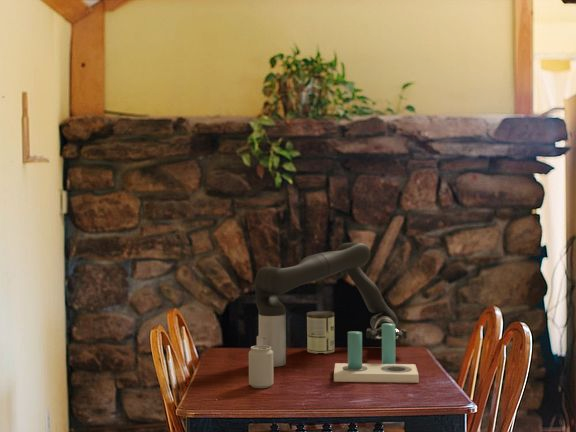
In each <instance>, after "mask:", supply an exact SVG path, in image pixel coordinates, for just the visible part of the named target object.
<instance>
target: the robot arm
mask: <svg viewBox="0 0 576 432" xmlns="http://www.w3.org/2000/svg"><path fill="white" fill-rule="evenodd" d="M371 253H372V252H371V250H370V248H369V246H368V245H367V244H365V243H363V242H358V241H357V242H344V243H341V244H340V245H339V247H338V249H337V250H334V251H332V250H331V251H324V252H318V253H315V254H311V255H307V256H306V257H304V258H303V259H301V261H300V262H299V263H298V264H296V265H292V266H288V267H275V266H263V267H260V268H259V269H258V270H257V273H256V274H255V275H256V276H255V280H254V291H255V305H256V307H257V310H258V335H257V336H256V346H257V345H266V346H270V347H271V350H272V351H273V368H275V367H276V368H277V367H282V366H285V365H286V364H287V361H286V360H287V343H286V342H287V341H286V339H287V333H286V332H287V331H286V329H287V327H286V322H287V321H286V313H287V312H286V306H285V305H284V304H283V303H282V302H281V301H280V300H279V299H278V296H279V295H283V294H285V293H287V292H290V291H292V290H294V289H296V288H298V287H300V286H302V285H307V284H311V283H314V282H317V281H320V280H322V279H325V278H328V277H330V276H334V275H337V274H338V273H341V272H342V271H345V273H346V274H347V275H348V277H349V278H350V279H351V281H352V282H353V284H354V285H355V287H356V289H357V290H358V291H359V293H360V295H361V297H362V300H363V302H364V303H365V306H366V308H367V309H368V311H369V312H370V313H378V314H375V315H373V316H372V317H371V318H370V320H369V323H370V327H371V328H370V327H368V328H367V329H366V338H367V339H370V338H371V339H373V340H374V341H376V340H377V339H378V340H381V341H382V324H384V323H392V324H395V340H396V339H397V341H401V340H403V339H408V331H407V329H406V328H401V329H400V330H399V328H398V329H397V327H396V326H397V325H398V322H399V319H398V317H397V315H396V313H395V312H394V311H393V310H392V309H391V308H390V307H389V306H388V304H387V303H386V301H385V299H384V298H383V295H382V293H381V290H380V289H379V287H378V286H377V285H376V283H375V282H374V281H373V280H372V279H370V278H369V276H367V274H365V273H364V271H363V270H362V269H361V267H365V265H366V264H367V263H368V262H369V260H370V259H371Z"/></svg>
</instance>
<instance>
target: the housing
mask: <svg viewBox="0 0 576 432" xmlns="http://www.w3.org/2000/svg"><path fill="white" fill-rule="evenodd" d="M333 370H334V372H333V382H343V383H345V382H346V383H347V382H352V383H354V382H355V383H357V382H358V383H417V384H418V383H419V381H420V380H419V379H420V377H419V372H418V368H417V366H416V364H413V363H411V364H409V363H395V364H382V363H362V369H358V370H352V369H348V362H347V363H346V362H345V363H344V362H343V363H337V362H336V363H334V369H333Z"/></svg>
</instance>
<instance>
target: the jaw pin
mask: <svg viewBox="0 0 576 432" xmlns="http://www.w3.org/2000/svg"><path fill="white" fill-rule="evenodd" d="M395 327H396V326H395V324H392V323H384V324H382V340H381V364H396V339H395Z"/></svg>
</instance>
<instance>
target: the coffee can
mask: <svg viewBox="0 0 576 432" xmlns="http://www.w3.org/2000/svg"><path fill="white" fill-rule="evenodd" d="M306 333H307V334H306V335H307V336H306V338H307V346H306V347H307V350H306V351H307V353H311V354H318V353H324V354H331V353H334V352H335V312H334V311H328V310H315V311H308V312H306Z"/></svg>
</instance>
